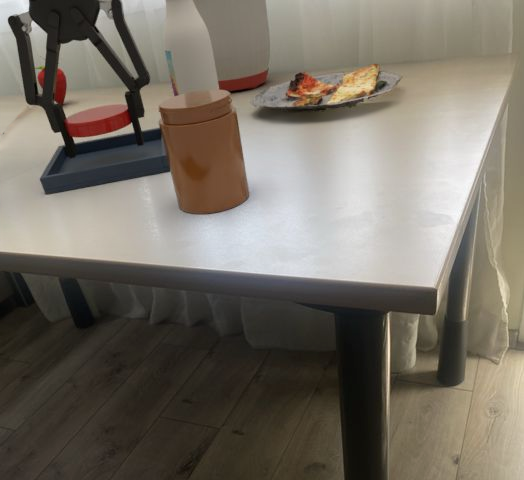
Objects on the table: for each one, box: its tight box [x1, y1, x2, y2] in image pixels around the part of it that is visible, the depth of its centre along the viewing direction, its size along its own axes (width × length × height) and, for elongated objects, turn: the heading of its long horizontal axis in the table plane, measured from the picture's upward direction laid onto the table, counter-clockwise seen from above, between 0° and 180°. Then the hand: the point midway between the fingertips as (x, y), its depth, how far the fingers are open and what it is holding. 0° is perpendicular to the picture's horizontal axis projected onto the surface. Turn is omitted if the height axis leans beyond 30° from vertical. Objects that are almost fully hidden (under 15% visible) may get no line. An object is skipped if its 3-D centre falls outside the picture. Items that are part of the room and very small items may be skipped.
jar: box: [158, 90, 250, 215], centre depth 56 cm, size 8×8×10 cm
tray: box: [39, 127, 170, 195], centre depth 75 cm, size 17×16×2 cm
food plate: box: [250, 63, 404, 113], centre depth 87 cm, size 25×23×4 cm
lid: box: [64, 103, 132, 139], centre depth 72 cm, size 9×9×2 cm
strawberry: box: [35, 55, 68, 106], centre depth 116 cm, size 6×8×10 cm
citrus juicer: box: [193, 0, 271, 92], centre depth 103 cm, size 16×17×20 cm
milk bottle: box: [162, 0, 219, 97], centre depth 86 cm, size 8×8×20 cm
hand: (107, 148), depth 74 cm, fingers closed on lid, 9 cm apart
